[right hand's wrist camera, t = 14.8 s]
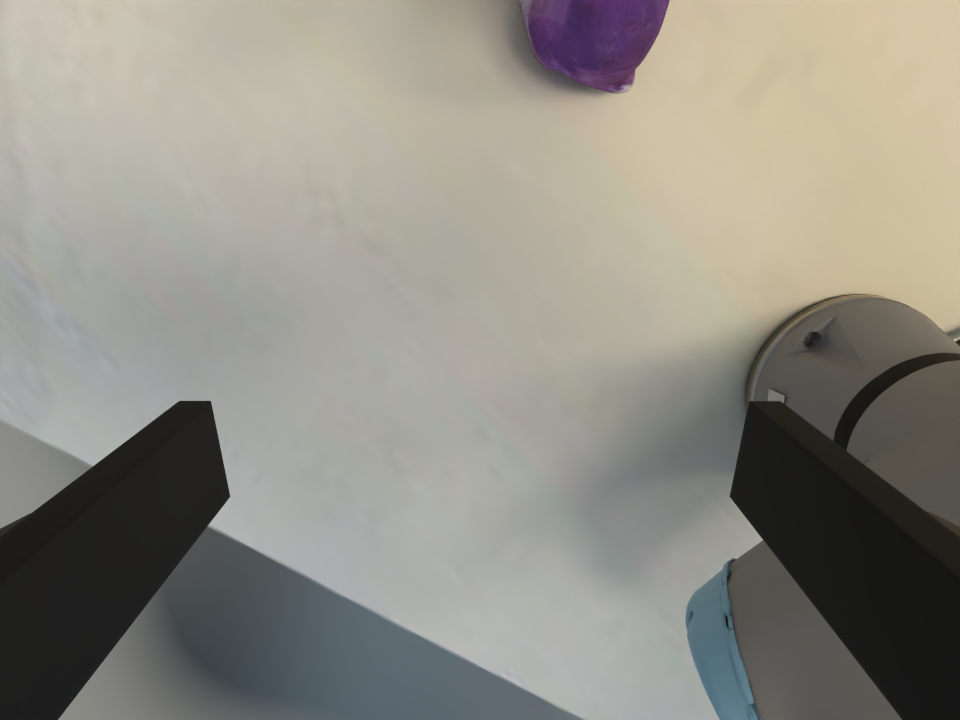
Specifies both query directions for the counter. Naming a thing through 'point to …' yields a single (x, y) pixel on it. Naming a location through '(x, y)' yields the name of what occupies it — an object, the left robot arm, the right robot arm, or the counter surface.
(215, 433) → the right robot arm
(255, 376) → the counter surface
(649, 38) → the figurine
